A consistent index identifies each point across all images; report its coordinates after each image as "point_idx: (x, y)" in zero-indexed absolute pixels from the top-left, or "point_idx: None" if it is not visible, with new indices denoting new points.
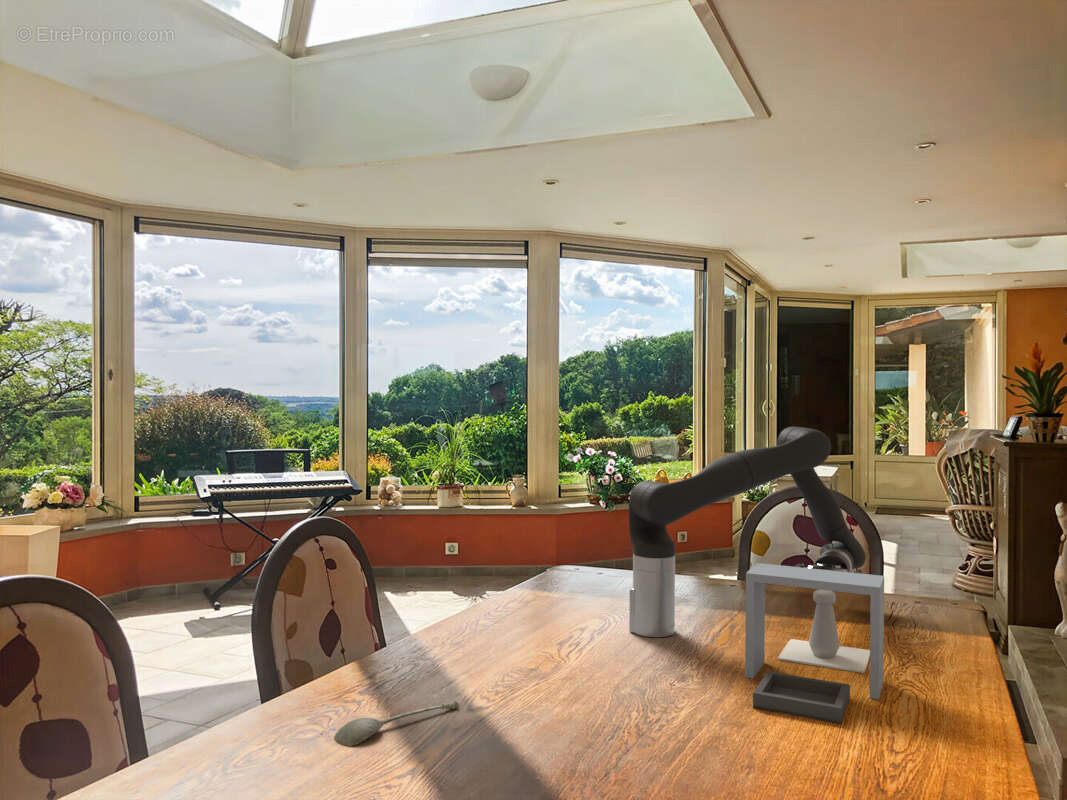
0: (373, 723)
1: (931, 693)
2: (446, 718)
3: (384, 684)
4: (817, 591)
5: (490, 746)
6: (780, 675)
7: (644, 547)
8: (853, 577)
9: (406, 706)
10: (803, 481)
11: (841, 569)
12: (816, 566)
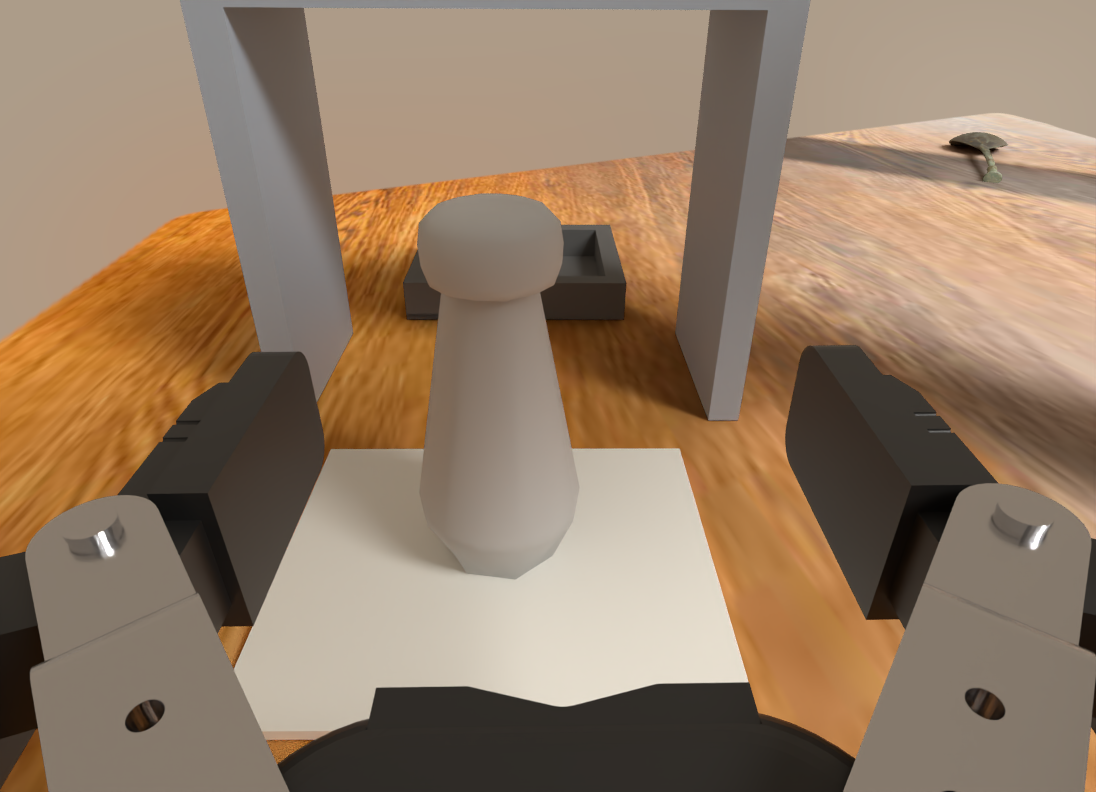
0: (969, 135)
1: (137, 398)
2: (961, 172)
3: None
4: (532, 199)
5: (843, 161)
6: (585, 276)
7: None
8: None
9: (1042, 174)
10: None
11: (192, 626)
12: (888, 678)
